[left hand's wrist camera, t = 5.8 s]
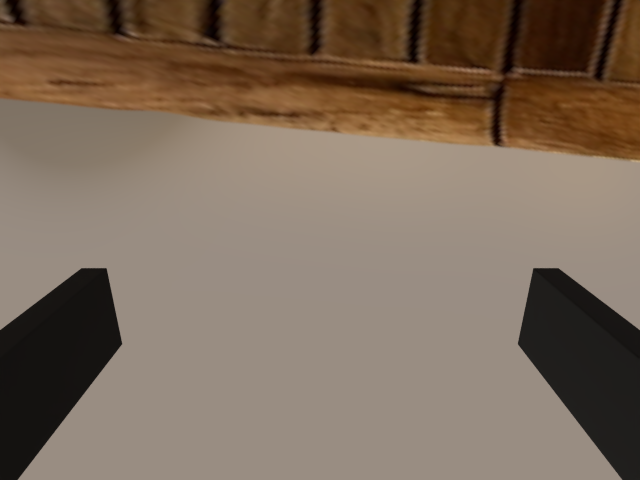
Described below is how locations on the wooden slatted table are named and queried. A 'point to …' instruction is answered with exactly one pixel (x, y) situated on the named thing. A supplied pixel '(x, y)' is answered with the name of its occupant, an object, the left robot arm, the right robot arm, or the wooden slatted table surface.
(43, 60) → the wooden slatted table surface
